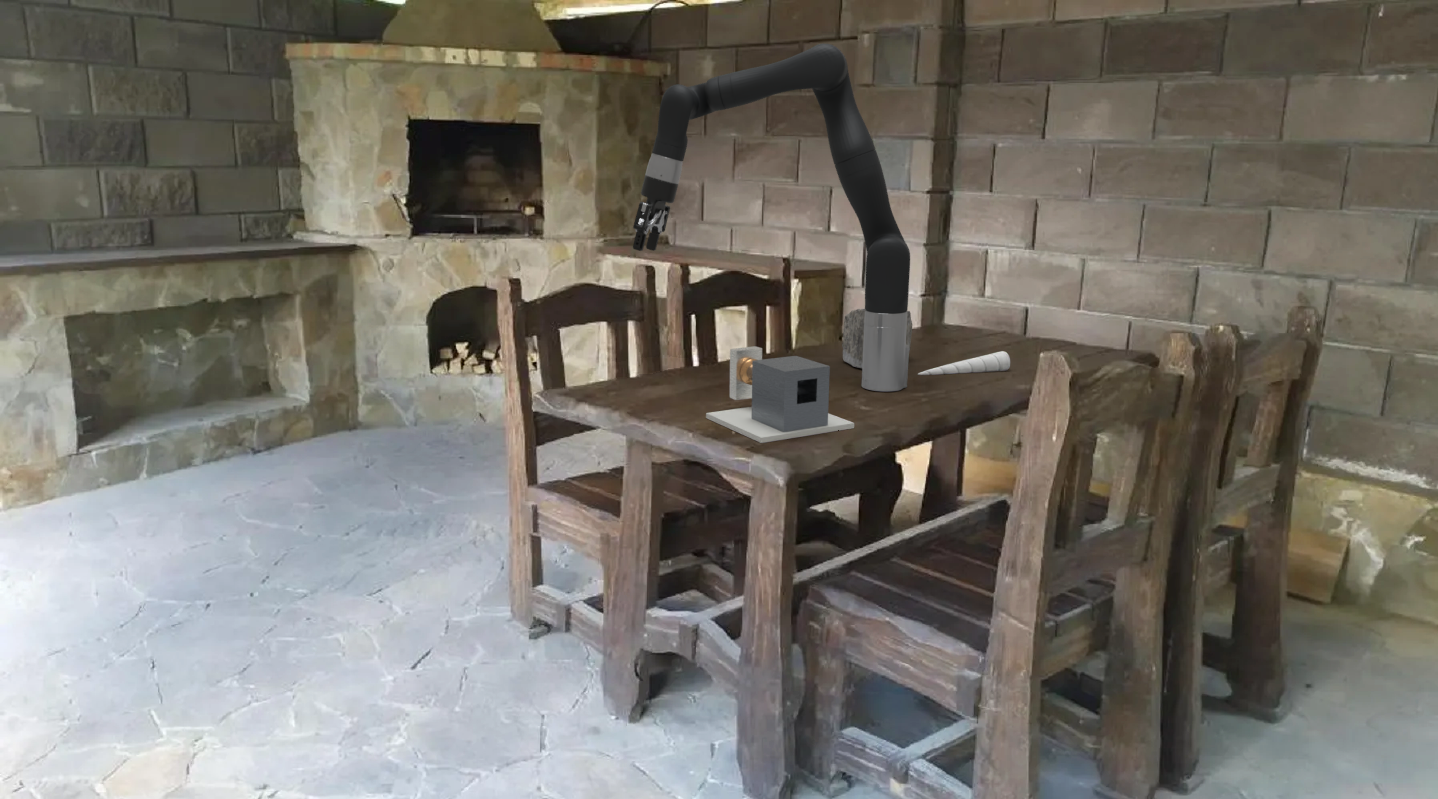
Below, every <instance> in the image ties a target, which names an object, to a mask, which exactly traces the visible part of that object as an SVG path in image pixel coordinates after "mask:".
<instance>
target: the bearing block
mask: <svg viewBox="0 0 1438 799" xmlns="http://www.w3.org/2000/svg"><path fill="white" fill-rule="evenodd" d="M830 370H831V366H830V365H828V364H824V363H821V362H818V361H814V360H811V359H809V358H805V357H802V356H797V355H792V356H781V357H775V358H773V357H772V358H762V360H755V361H752V398H751V407H752V419H753V420H755V421H758V422H760V423H763V424H765V425H767V426H770V427H772V428H774V429H777V430H779V431H781V432H789V431H796V430H802V429H809V428H815V427H821V426H828V413H829V401H830V400H829V399H830V398H829V397H830V376H831V375H830V374H831V371H830Z"/></svg>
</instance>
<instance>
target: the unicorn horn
mask: <svg viewBox="0 0 1438 799" xmlns="http://www.w3.org/2000/svg"><path fill="white" fill-rule="evenodd" d="M1010 367H1011V358H1010V355H1009V354H1008V353H1007V352H1006V351H1003V350H1001V351H997V352H993V353H989V354H985V355H980V356H977V357H973V358H967V359H963V360H959V361H955V362H952V363H947V364H944V365H941V366H938V367H934V368H930V369H926V370H924V371H921V372H918V373H917V375H919V376H930V375H931V376H932V375H933V376H935V375H944V374H945V375H954V374H955V375H956V374H969V373H970V374H971V373H985V372H986V373H987V372H988V373H990V372H1005V371H1008V370H1009V369H1010Z"/></svg>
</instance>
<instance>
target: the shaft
mask: <svg viewBox="0 0 1438 799" xmlns="http://www.w3.org/2000/svg"><path fill="white" fill-rule="evenodd" d="M755 360H763V348H762V347H759V346H756V345H755V346H746V347H737V348H729V398H730V399H732V400H734V401H740V400H749V399H752V361H755Z"/></svg>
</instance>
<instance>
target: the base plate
mask: <svg viewBox="0 0 1438 799" xmlns="http://www.w3.org/2000/svg"><path fill="white" fill-rule="evenodd" d="M705 418H706V419H708V420H710V421H712V422H714V423H716V424H718V425H721V426H722V427H725V428H727V429H730V430H732V431H734V432H736V433H738V434H741V435H742V436H745V437H747V438H749V439H751V440H753V441H756V442H757V443H760V444H764V443H770V442H776V441H783V440H787V439H794V438H800V437H807V436H813V435H814V436H815V435H819V434H826V433H833V432H838V430H839V431H844V430H850V429H855V422H852V421H850V420H847V419H844V418H841V417H839V416H836V415H834V414H831V413H829V412H828V426H821V427H815V428H809V429H802V430H796V431H789V432H781V431H779V430H777V429H774V428H772V427H770V426H767V425H765V424H763V423H760V422H758V421H755V420H753V419H752V406H747V407H741V408H740V407H739V408H732V409H725V410H720V411H719V410H718V411H712V412H706V413H705Z"/></svg>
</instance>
